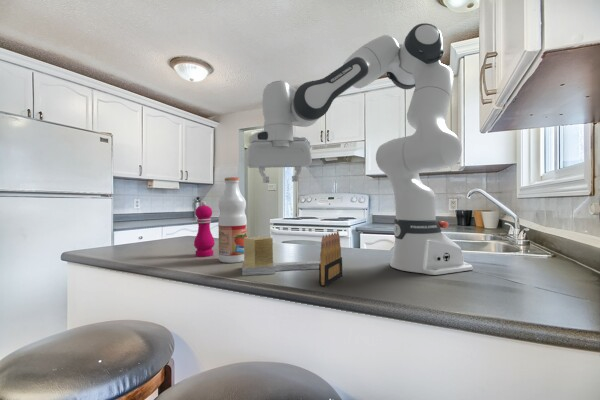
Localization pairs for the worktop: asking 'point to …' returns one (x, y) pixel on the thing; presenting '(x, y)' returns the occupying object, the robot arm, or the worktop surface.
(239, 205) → the fruit juice
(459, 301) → the worktop surface
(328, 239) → the ammunition clip
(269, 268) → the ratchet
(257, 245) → the tan sponge block
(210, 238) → the pepper mill
